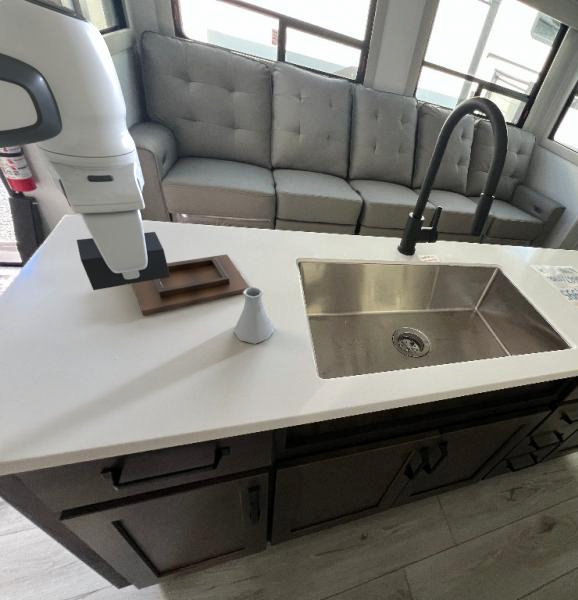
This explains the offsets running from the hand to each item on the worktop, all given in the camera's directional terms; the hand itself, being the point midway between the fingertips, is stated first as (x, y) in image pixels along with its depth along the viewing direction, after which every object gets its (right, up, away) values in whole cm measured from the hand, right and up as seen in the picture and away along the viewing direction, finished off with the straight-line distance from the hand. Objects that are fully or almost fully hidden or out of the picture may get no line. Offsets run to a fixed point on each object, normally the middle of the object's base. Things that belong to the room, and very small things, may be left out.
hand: (127, 263), depth 48 cm
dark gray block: (0, -1, +1) cm, 2 cm away
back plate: (-6, -2, +24) cm, 25 cm away
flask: (+11, -12, +18) cm, 24 cm away
